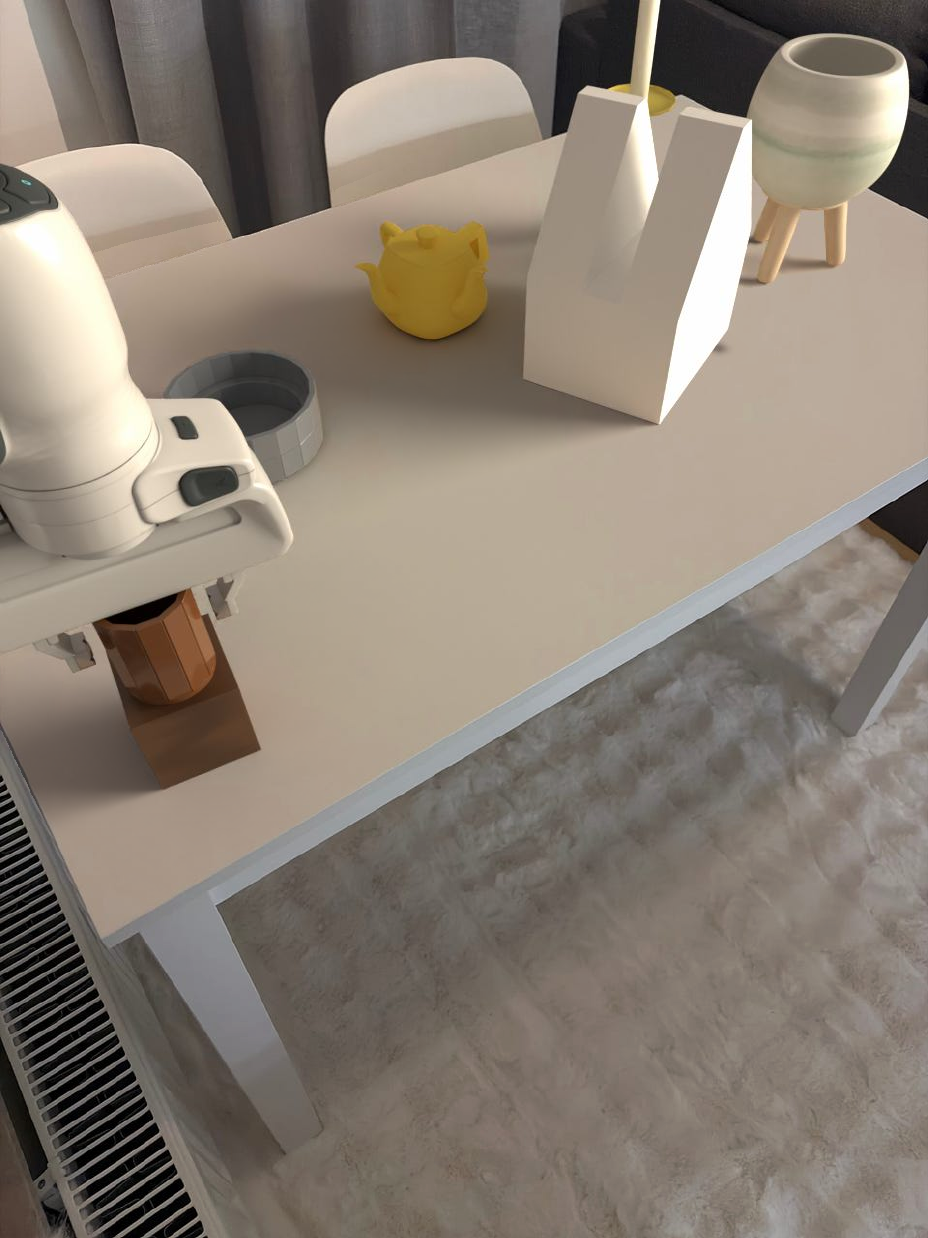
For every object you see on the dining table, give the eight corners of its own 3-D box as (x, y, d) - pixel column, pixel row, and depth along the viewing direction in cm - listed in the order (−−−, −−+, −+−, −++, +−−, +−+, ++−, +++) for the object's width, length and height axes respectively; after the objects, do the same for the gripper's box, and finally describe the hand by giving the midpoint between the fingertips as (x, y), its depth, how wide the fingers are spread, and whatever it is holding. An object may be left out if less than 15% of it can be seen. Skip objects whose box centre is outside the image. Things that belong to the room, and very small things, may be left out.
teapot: (363, 346, 100) (353, 262, 93) (382, 281, 109) (374, 198, 101) (488, 352, 99) (488, 267, 92) (497, 285, 108) (498, 202, 100)
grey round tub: (201, 510, 84) (185, 460, 80) (162, 424, 93) (145, 374, 88) (345, 463, 88) (337, 413, 84) (295, 384, 96) (285, 334, 92)
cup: (136, 719, 60) (96, 644, 54) (115, 652, 64) (76, 575, 58) (227, 684, 62) (199, 607, 56) (202, 621, 65) (172, 542, 59)
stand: (163, 790, 66) (129, 729, 60) (138, 713, 70) (105, 650, 64) (261, 749, 68) (238, 687, 62) (231, 677, 72) (208, 612, 66)
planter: (732, 219, 117) (774, 19, 100) (863, 240, 113) (930, 35, 96) (705, 283, 107) (747, 74, 90) (847, 308, 103) (919, 95, 86)
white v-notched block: (659, 424, 91) (705, 169, 72) (523, 378, 96) (532, 129, 77) (727, 328, 101) (784, 83, 82) (601, 291, 107) (627, 53, 87)
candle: (677, 225, 116) (730, -91, 91) (633, 257, 111) (676, -67, 86) (612, 201, 120) (646, -106, 95) (567, 231, 116) (589, -85, 91)
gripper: (-117, 580, 45) (-1, 733, 55) (280, 453, 50) (316, 614, 61) (-126, 501, 48) (-16, 659, 59) (245, 391, 54) (285, 553, 65)
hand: (155, 635), depth 60 cm, fingers open, 8 cm apart
